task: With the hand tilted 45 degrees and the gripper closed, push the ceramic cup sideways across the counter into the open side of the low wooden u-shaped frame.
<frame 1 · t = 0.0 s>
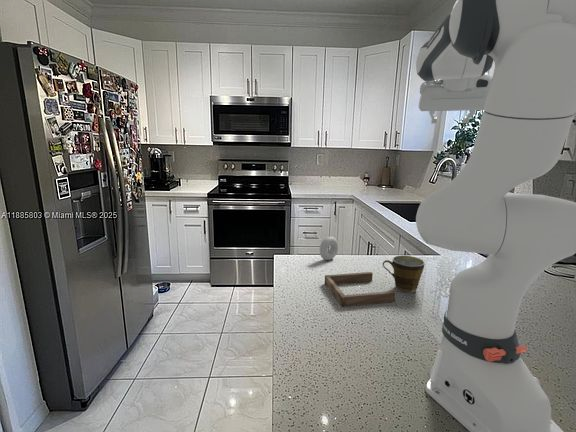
hand: (449, 122, 104), 54 cm above the table, tool tilted 30°, fingers open, 8 cm apart
ceramic cup: (400, 288, 107), on the table
wooden u-shaped frame: (359, 291, 103), on the table
donut: (328, 260, 132), on the table
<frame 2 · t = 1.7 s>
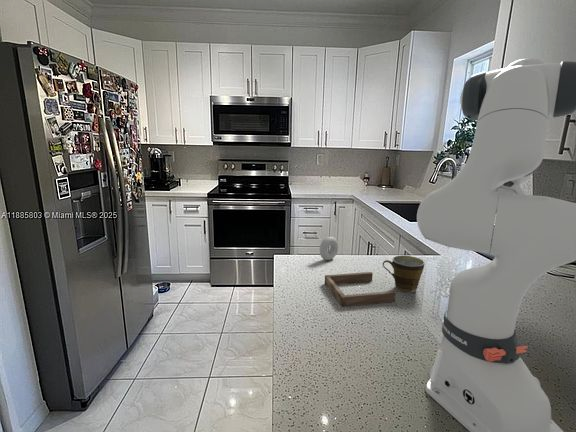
hand: (469, 216, 106), 24 cm above the table, tool tilted 45°, fingers open, 7 cm apart
nothing on the table moved.
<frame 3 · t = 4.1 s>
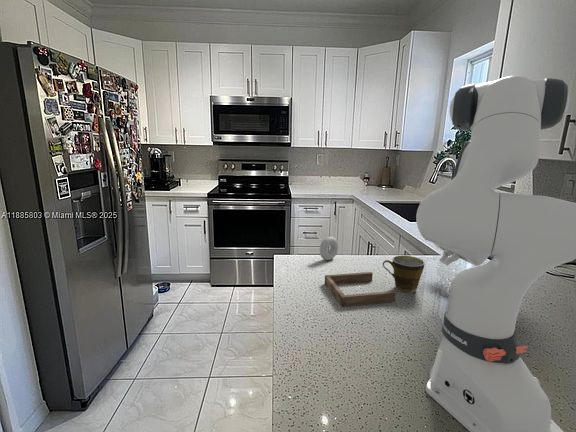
hand: (443, 263, 108), 8 cm above the table, tool tilted 45°, fingers closed
nothing on the table moved.
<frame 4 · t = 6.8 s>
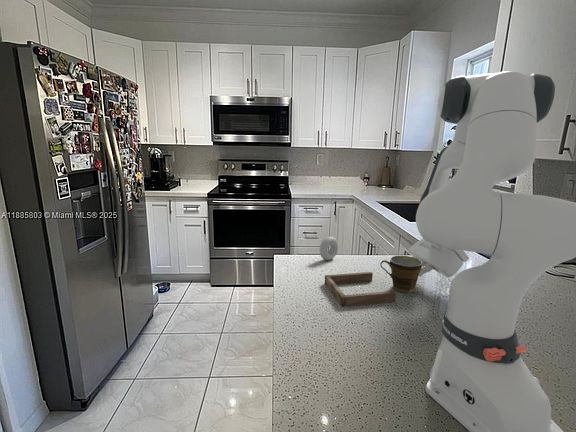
hand: (416, 273, 107), 5 cm above the table, tool tilted 45°, fingers closed
ceramic cup: (398, 288, 106), on the table, touching gripper
everything else where it was.
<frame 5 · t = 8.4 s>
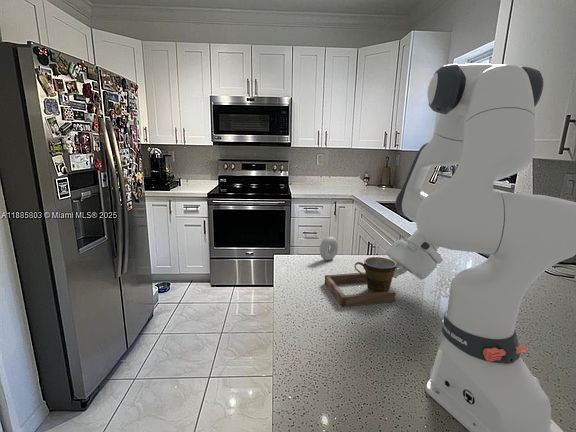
hand: (391, 275, 105), 5 cm above the table, tool tilted 45°, fingers closed
ceramic cup: (373, 290, 105), on the table, touching gripper
everything else where it was.
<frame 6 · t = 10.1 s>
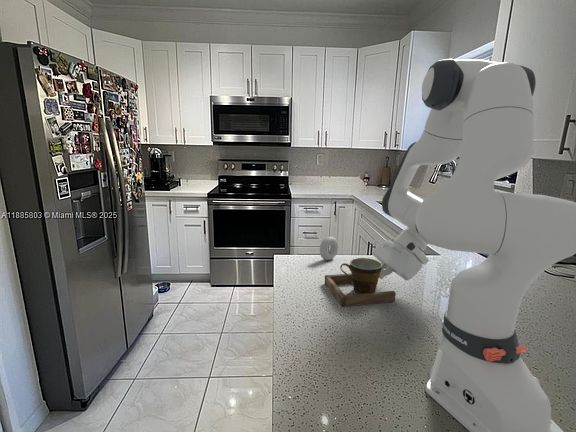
hand: (377, 276, 104), 5 cm above the table, tool tilted 45°, fingers closed
ceramic cup: (359, 292, 104), on the table, touching gripper
everything else where it was.
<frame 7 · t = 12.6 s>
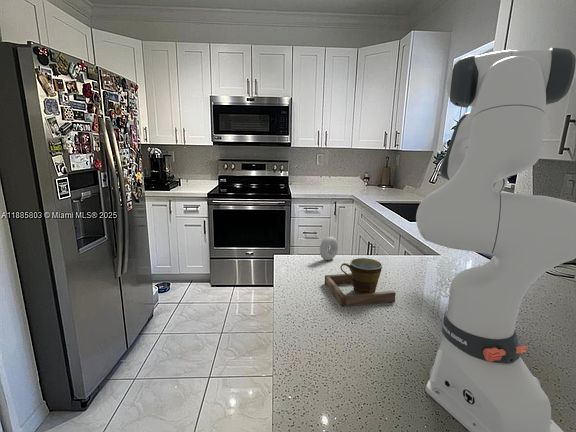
hand: (435, 239, 105), 16 cm above the table, tool tilted 45°, fingers closed
ceramic cup: (359, 292, 104), on the table
everything else where it was.
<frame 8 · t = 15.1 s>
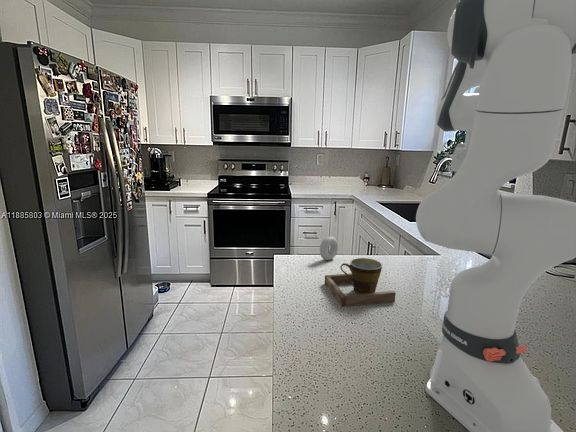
hand: (474, 188, 98), 34 cm above the table, tool pointing down, fingers closed
nothing on the table moved.
at the end: ceramic cup inside the target area on the wooden u-shaped frame (0.0 cm from its centre), point 0.0 cm above the wooden u-shaped frame's base; ceramic cup tilted 0° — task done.
